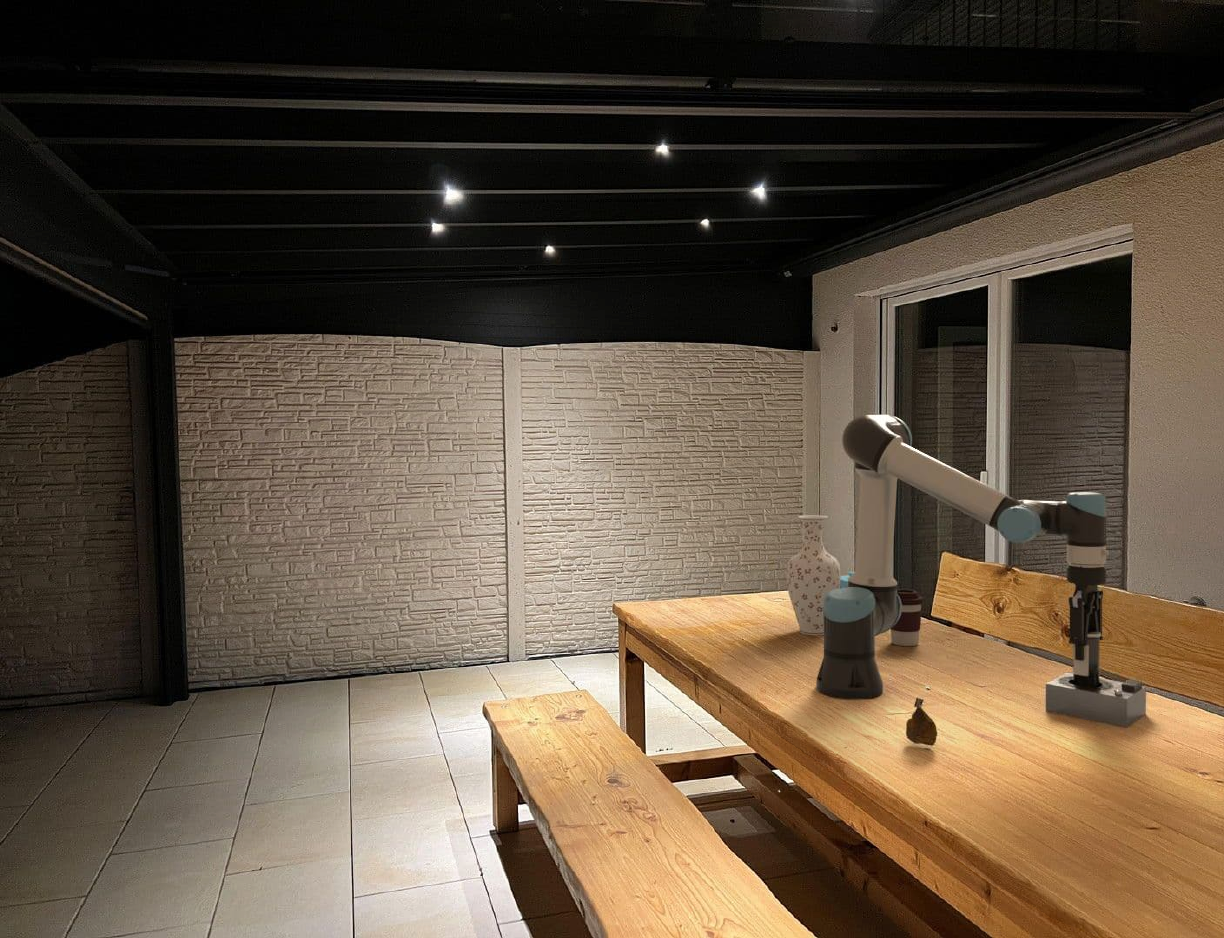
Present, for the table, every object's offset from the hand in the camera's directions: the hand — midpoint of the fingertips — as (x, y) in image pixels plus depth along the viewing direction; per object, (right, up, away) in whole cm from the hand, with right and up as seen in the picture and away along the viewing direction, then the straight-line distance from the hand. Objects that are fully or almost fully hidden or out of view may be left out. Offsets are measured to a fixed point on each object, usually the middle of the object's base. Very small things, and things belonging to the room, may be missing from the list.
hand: (1085, 671), depth 197 cm
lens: (0, -2, 0) cm, 2 cm away
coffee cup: (-19, -6, +62) cm, 65 cm away
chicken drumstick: (-43, -10, -18) cm, 48 cm away
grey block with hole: (+1, -9, -1) cm, 9 cm away
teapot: (-22, -4, +104) cm, 106 cm away
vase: (-41, -6, +78) cm, 89 cm away
